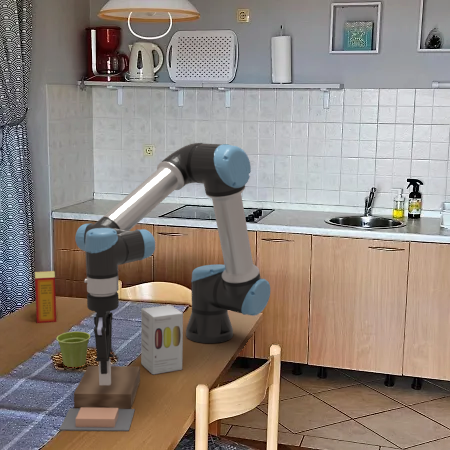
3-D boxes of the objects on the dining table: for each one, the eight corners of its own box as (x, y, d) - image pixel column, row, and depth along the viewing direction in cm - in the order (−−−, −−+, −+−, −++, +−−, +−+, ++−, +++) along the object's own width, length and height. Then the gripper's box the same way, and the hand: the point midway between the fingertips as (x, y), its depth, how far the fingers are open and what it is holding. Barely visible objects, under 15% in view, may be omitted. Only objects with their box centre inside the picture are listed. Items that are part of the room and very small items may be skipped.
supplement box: (152, 375, 192) (151, 317, 189) (140, 364, 200) (139, 308, 197) (183, 369, 197) (183, 312, 194) (170, 358, 205) (170, 303, 202)
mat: (134, 410, 171) (134, 408, 171) (128, 431, 160) (128, 429, 160) (69, 409, 171) (69, 408, 171) (59, 430, 160) (59, 429, 160)
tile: (114, 419, 161) (114, 427, 161) (118, 407, 166) (118, 415, 167) (75, 418, 161) (75, 426, 161) (80, 407, 167) (81, 415, 167)
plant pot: (74, 374, 192) (74, 344, 191) (50, 367, 197) (49, 338, 195) (98, 364, 200) (97, 335, 198) (73, 357, 205) (73, 329, 203)
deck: (140, 380, 189) (139, 366, 188) (131, 409, 171) (130, 394, 170) (88, 379, 189) (88, 365, 188) (74, 408, 171) (73, 393, 170)
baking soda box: (36, 314, 244) (35, 270, 242) (55, 313, 246) (54, 269, 243) (36, 323, 235) (34, 277, 233) (56, 321, 237) (54, 276, 234)
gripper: (92, 285, 174) (94, 373, 179) (81, 300, 161) (85, 395, 166) (121, 285, 174) (123, 373, 179) (114, 300, 162) (116, 395, 166)
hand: (105, 383), depth 172 cm, fingers closed
